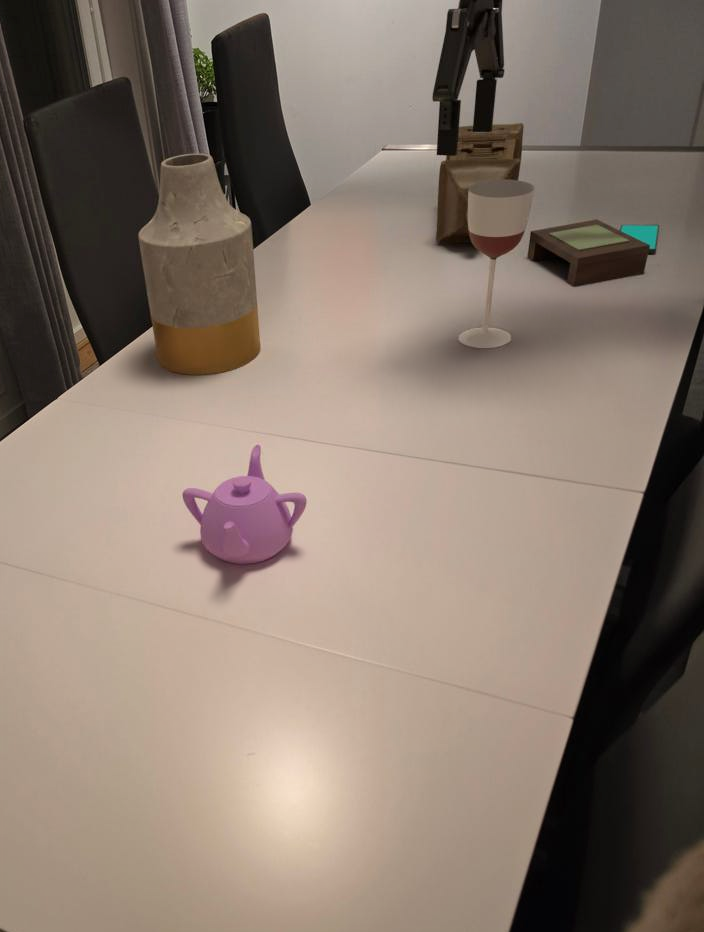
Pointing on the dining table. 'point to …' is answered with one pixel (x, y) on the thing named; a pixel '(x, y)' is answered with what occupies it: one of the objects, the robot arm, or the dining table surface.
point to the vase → (199, 272)
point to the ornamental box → (474, 174)
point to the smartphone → (643, 234)
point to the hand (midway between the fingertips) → (465, 143)
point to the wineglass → (495, 240)
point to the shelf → (590, 251)
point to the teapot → (245, 516)
